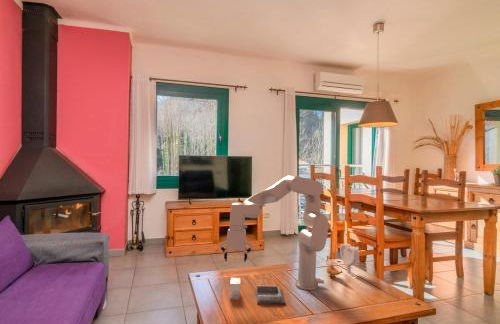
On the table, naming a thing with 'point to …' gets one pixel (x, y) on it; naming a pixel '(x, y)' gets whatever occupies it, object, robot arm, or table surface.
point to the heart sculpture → (349, 257)
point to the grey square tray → (270, 295)
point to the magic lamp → (332, 270)
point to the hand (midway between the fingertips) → (235, 260)
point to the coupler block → (235, 288)
